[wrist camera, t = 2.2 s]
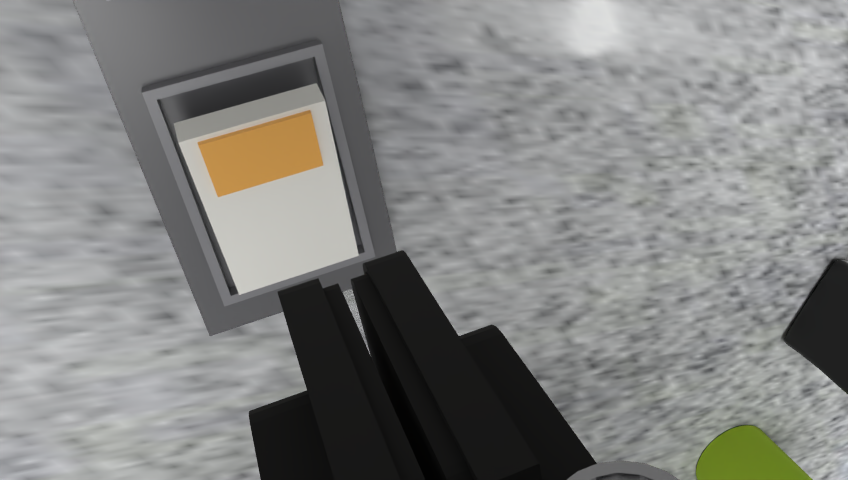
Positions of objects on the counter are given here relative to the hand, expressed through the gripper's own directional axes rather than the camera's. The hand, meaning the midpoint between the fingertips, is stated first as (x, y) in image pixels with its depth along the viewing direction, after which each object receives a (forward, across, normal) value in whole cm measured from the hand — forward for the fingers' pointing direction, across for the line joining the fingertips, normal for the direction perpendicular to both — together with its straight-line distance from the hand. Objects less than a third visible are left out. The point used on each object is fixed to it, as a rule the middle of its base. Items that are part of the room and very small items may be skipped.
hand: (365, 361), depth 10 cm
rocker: (+20, 0, +6) cm, 21 cm away
